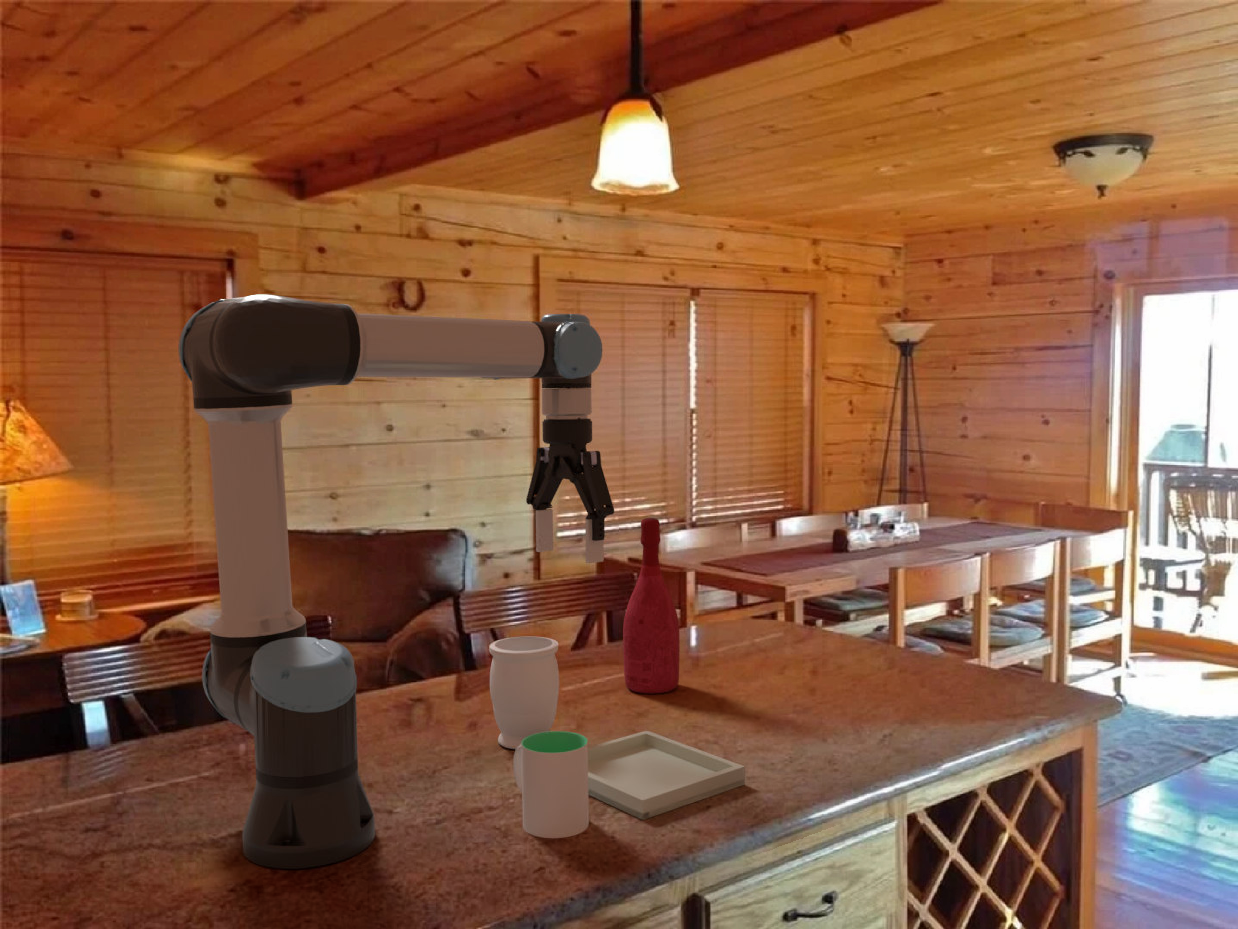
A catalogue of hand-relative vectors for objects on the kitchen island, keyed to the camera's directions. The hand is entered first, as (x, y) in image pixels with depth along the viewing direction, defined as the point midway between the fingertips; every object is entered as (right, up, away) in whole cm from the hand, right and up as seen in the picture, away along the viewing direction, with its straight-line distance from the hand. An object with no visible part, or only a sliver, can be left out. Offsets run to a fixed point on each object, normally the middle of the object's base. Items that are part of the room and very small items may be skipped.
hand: (569, 556), depth 170 cm
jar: (-6, -28, -2) cm, 29 cm away
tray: (+11, -29, -19) cm, 36 cm away
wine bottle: (+13, -25, +25) cm, 38 cm away
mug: (-1, -30, -32) cm, 44 cm away
